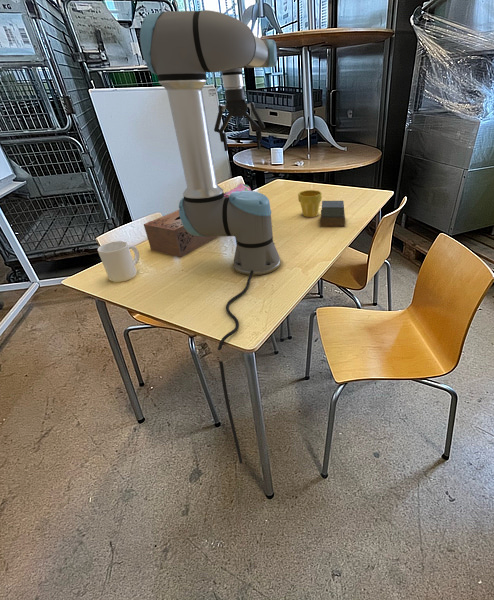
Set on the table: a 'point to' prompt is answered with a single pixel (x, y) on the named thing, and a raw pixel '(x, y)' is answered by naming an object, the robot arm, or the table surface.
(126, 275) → the mug
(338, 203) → the top block
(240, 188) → the pencil case
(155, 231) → the tissue box cover
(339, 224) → the base block
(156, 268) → the table surface
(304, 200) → the flower pot
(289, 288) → the table surface
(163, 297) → the table surface
